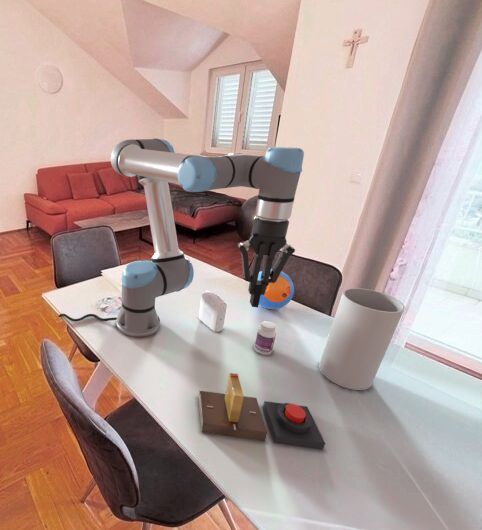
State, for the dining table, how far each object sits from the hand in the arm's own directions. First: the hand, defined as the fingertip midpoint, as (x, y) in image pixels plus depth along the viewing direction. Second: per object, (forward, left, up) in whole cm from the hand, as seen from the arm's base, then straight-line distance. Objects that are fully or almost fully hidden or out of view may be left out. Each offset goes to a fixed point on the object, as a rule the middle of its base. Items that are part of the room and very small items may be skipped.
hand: (253, 304), depth 83 cm
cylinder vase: (+29, +3, -23) cm, 37 cm away
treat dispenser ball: (+18, +40, -23) cm, 49 cm away
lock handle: (-6, -18, -19) cm, 27 cm away
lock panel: (-6, -18, -22) cm, 29 cm away
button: (+8, -18, -19) cm, 27 cm away
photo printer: (-6, +23, -23) cm, 33 cm away
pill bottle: (+9, +11, -23) cm, 27 cm away
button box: (+8, -18, -22) cm, 30 cm away
